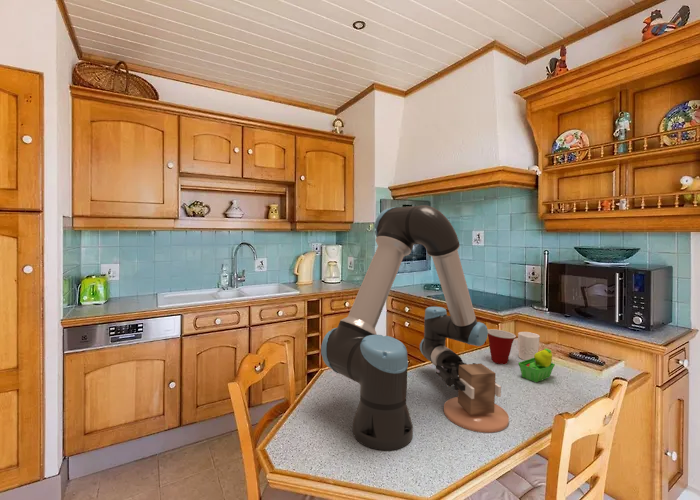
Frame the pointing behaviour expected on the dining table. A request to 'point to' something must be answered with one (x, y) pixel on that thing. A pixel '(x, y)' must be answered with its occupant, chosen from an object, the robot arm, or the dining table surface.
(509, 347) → the plastic cup
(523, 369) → the fruit basket
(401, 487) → the dining table surface
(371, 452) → the dining table surface
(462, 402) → the walnut block
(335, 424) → the dining table surface
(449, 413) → the dish
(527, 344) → the white cup
